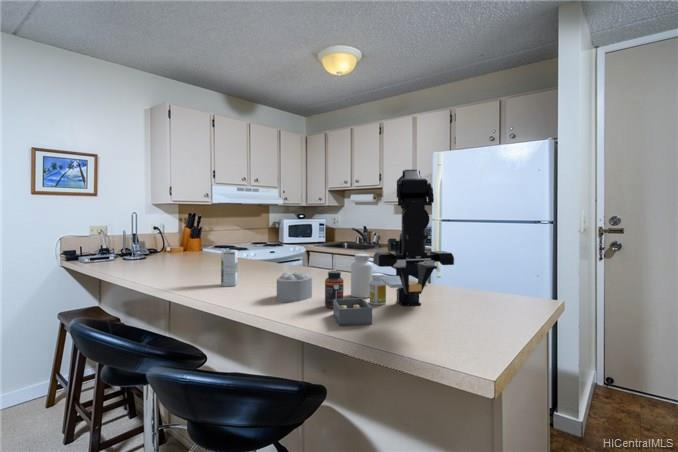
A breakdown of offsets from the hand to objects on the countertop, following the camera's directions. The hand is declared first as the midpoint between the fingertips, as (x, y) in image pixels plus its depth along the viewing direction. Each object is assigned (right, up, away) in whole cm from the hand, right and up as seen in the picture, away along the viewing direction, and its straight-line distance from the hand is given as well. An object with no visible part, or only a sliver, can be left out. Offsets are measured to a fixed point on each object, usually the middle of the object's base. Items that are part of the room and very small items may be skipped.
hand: (412, 293), depth 87 cm
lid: (-1, +1, +6) cm, 6 cm away
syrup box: (-64, -8, +61) cm, 88 cm away
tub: (-14, -10, +14) cm, 23 cm away
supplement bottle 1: (-20, -10, +28) cm, 35 cm away
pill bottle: (-10, -9, +42) cm, 44 cm away
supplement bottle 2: (-5, -9, +32) cm, 34 cm away
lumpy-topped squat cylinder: (-34, -9, +39) cm, 53 cm away
